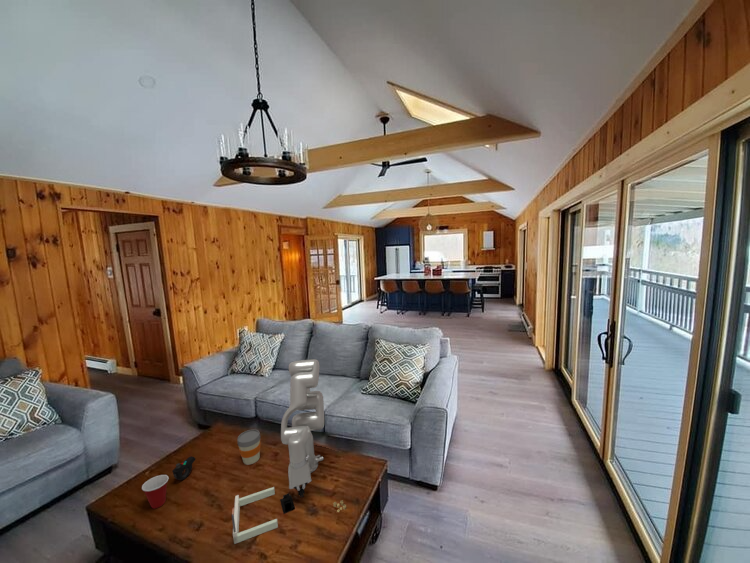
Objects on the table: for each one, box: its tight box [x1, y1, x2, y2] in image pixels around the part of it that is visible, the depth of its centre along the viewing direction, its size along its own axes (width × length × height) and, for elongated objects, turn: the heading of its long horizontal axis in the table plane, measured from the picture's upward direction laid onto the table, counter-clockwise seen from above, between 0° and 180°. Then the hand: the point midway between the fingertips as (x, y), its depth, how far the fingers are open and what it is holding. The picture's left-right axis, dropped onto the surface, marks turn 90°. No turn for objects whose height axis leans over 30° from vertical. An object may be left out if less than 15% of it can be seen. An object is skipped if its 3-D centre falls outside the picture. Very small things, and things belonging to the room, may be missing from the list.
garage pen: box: [231, 486, 279, 545], centre depth 139 cm, size 18×21×13 cm
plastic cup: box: [141, 474, 170, 509], centre depth 149 cm, size 11×11×12 cm
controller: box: [172, 456, 196, 481], centre depth 167 cm, size 4×12×10 cm, turn 165°
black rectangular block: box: [279, 493, 296, 515], centre depth 145 cm, size 12×7×5 cm, turn 27°
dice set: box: [332, 499, 347, 513], centre depth 142 cm, size 5×5×2 cm
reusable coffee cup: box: [237, 428, 262, 466], centre depth 177 cm, size 13×13×15 cm
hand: (301, 495), depth 147 cm, fingers closed
